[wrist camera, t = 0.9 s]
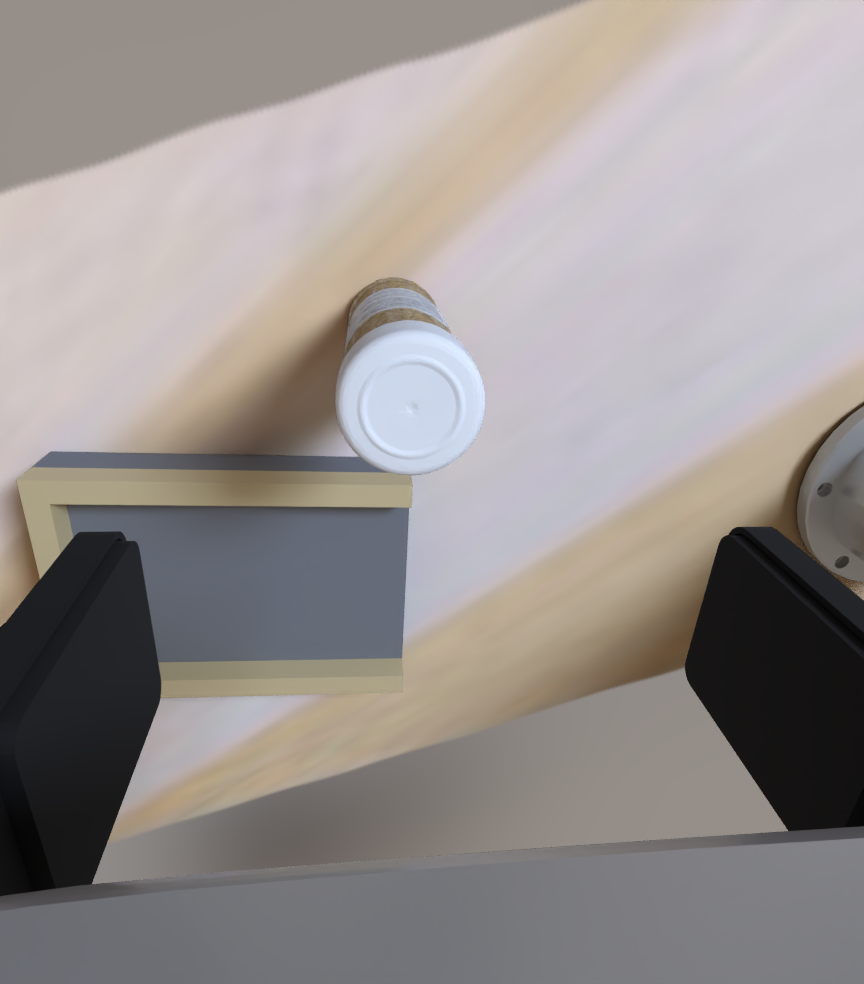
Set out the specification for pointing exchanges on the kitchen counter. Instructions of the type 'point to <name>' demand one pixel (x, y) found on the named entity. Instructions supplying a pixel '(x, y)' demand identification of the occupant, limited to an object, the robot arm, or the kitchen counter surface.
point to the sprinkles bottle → (406, 382)
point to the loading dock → (246, 563)
